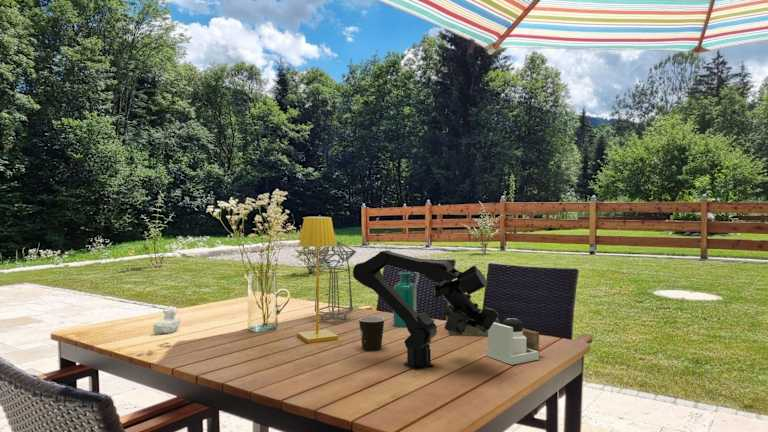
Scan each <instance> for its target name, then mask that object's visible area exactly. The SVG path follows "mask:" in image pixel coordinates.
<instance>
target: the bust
mask: <svg viewBox="0 0 768 432" xmlns="http://www.w3.org/2000/svg"><path fill="white" fill-rule="evenodd" d="M177 309H178V308H177V307H176V306H173V305H171V306H168V307H167V308H164V309H163V310H162V313H163V315H164V317H162V318H161V319H158V320H156V322H155V323H154V324H153V327H152V331H153V333H154V334H156V335H159V334H173V333H174V332H176V331H177V330H178V329H179V325H180V324H181V319H180V316H178V315H176V314H177V312H178V310H177Z"/></svg>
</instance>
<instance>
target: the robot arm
mask: <svg viewBox="0 0 768 432" xmlns="http://www.w3.org/2000/svg"><path fill="white" fill-rule="evenodd" d="M387 265H388V266H392V267H395V268H399V269H402V270H403V269H404V270H407V271H409V272H410V271H411V272H413V273H415V272H418V273H419V275H422V276H423V277H425V278H427V279H429V280H431V281H433V282H436V283H442V282H443V283H442V284H439V285H437V284H436V285H434V289H433V293H434V294H433V295H434V296H433V297H434V299H437V298H439V297H442V298H443V299H444V300H445V301H446V302H447V303H448V306H447V307H446V309H445V310H444V317H445V318H446V319H447V320H446V322H445V325H444V329H445V330H446V331H448V332H449V331H450V332H452V333H455V334H458V335H461V334H462V333H463V332H465V330H466V327H467V325H468V324H469V326H472V327H475V328H476V329H478V330H479V331H481V332H483V333H485V332H486V330H489V329H490V327H491V326H492V324H493V323H494V321H495V320H496V318H498V317H499V313H498V312H497V311H496V309H494V308H491V307H490V308H489V307H483V308H479V304H478V303H475V302H473V301H472V300H471V298H472V296H471V294H473V293H476V292H478V291H480V290H482V289H485V288H486V287H488V283H487V279H486V277H485V275H484V274H483V273H482V271H481V270H480V269H479V268H478V266H477V265H472V266H471V267H469V268H467V269H466V270H465V271H461V270H458V269H457V268H454V267H453V266H452V264H451V263H450V262H449V261H447V260H435V259H432V260H431V259H430V260H429V259H422V258H417V257H414V256H413V257H412V256H409V255H405V254H401V253H396V252H395V251H394V252H392V251H391V250H381V251H379V252H378V253H377V254H375V255H374V256H373V257H370V258H369V259H367V260H365V261H364V262H359V263H357V264H355V266H353V268H352V269H353V270H352V276H353V278H354V279H355V281H357V282H359V283H360V284H361V285H362V286H364V287H366V288H368V289H370V290H372V291H373V292H374V293H376V295H377V296H378V297H380V299H381V300H382V301H383V302H384V303H385V304H386V305H387V306H388V307H389V308H390V309H391V310H392V312H393V311H394V312H395V313H396V314H397V315H398V316H399V317H400V318H401V319H402V320H403V321H404V322H405V324H406V327H405V328H407V331H408V333H409V334H410V335H409V336H408V337H407V338H406V339H405V340H404V345H405V348H406V352H407V354H406V357H407V358H406V362H404V363H403V365H405V366H407V367H409V368H411V369H414V370H423V369H425V368H426V369H427V368H431V367H434V364H433V363H431V358H432V357H431V355H432V354H431V353H432V352H431V348H430V347H431V345H430V343H431V341H432V340H433V338H435V337H436V335H437V333H438V332H437V331H438V330H437V325H436V323H435V320H434V319H433V318H431V317H430V316H429V314H428V313H427V312H426V311H423V312H421V313H419V312H417V310H416V311H414V310H413V309H412V308H411V307H410V306H409V305H408V304H407V303H406V302H405V301H404V300H403V299H402V298H401V296H400V295H399V294H398V293H397V292H396V291H395V290H394V289H393V288H394V287H393V288H392V286H390V285H389V283H388V282H387V281H386V280H385V279H384V276H383V274H382V271H381V270H382V269H383V268H385V267H386V266H387ZM444 281H446V282H444Z"/></svg>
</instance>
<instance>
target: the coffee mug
mask: <svg viewBox="0 0 768 432" xmlns="http://www.w3.org/2000/svg"><path fill="white" fill-rule="evenodd" d="M358 321H359V332H360V341H361V347H362V350H363V351H366V352H377V351H378V352H379V351H380V350H382V345H383V344H382V342H383V334H384V326H385V318H384V317H379V316H378V317H377V316H363V317H361V318H359V319H358Z"/></svg>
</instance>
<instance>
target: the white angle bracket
mask: <svg viewBox="0 0 768 432" xmlns="http://www.w3.org/2000/svg"><path fill="white" fill-rule="evenodd" d="M485 356H487V357H489V358H492V359H494V360H498V361H500V362H502V363H506V364H509V365H511V366H513V365H519V364H523V363H527V362H532V361H538V360H539V359H540V351H539V352H538V351H535V350H532V349H529V348H527V353H523V354H518V355H513V327H510V326H506V325H503V323H500V324H499V323H495V322H494V323H493V324H492V326H491V327H490V329H489V330H488V336H487V347H485Z"/></svg>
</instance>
